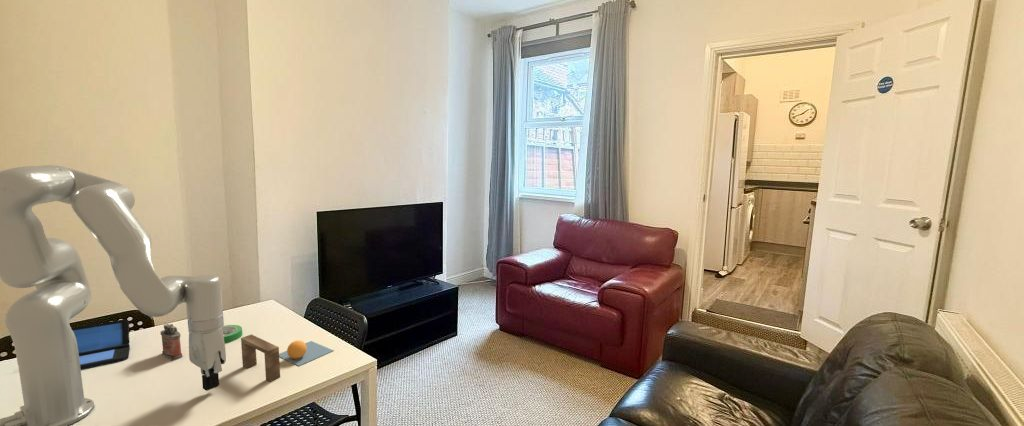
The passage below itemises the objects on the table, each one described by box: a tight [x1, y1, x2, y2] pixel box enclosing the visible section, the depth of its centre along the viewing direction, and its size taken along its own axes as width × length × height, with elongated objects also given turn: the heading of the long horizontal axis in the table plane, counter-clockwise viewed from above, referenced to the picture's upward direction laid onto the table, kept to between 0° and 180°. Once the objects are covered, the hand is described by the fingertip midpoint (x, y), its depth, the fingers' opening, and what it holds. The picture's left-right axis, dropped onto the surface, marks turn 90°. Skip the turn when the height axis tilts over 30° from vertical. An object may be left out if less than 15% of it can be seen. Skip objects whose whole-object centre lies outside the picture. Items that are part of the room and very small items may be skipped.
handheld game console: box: [71, 319, 131, 371], centre depth 127 cm, size 16×13×9 cm
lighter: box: [160, 323, 183, 361], centre depth 130 cm, size 8×3×10 cm, turn 62°
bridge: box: [240, 334, 281, 382], centre depth 123 cm, size 3×14×9 cm, turn 59°
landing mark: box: [279, 340, 335, 367], centre depth 135 cm, size 12×12×1 cm
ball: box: [286, 340, 307, 359], centre depth 132 cm, size 6×6×6 cm
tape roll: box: [222, 324, 243, 344], centre depth 144 cm, size 11×11×3 cm
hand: (211, 387), depth 112 cm, fingers closed
